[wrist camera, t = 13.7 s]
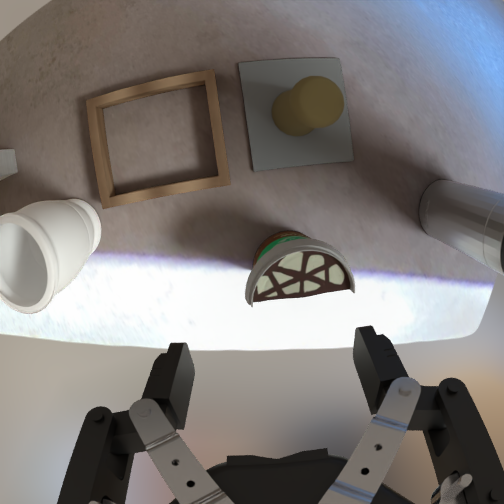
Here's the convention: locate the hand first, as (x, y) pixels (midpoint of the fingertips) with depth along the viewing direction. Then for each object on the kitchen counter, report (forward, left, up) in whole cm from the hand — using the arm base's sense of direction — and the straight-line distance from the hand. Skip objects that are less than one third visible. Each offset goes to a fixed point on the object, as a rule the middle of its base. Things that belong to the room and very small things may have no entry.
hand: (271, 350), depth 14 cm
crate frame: (+9, -12, -26) cm, 30 cm away
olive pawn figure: (-8, -13, -26) cm, 30 cm away
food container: (-5, +4, -27) cm, 27 cm away
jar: (+23, -3, -27) cm, 35 cm away
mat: (-9, -13, -26) cm, 31 cm away
